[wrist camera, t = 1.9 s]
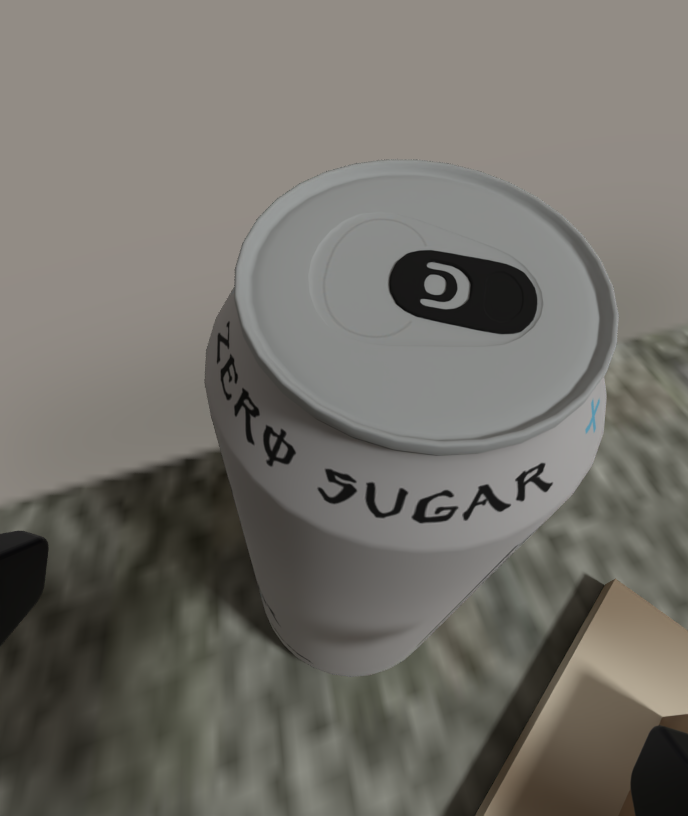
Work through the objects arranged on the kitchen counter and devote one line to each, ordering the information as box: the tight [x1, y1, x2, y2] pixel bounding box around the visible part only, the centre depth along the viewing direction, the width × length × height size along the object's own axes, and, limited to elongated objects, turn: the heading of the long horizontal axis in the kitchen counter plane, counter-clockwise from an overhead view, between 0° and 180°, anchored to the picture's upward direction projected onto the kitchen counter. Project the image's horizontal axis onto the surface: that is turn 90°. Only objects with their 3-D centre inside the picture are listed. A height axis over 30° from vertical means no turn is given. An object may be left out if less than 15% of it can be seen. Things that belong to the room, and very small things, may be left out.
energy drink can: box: [205, 160, 619, 677], centre depth 14 cm, size 6×6×15 cm
